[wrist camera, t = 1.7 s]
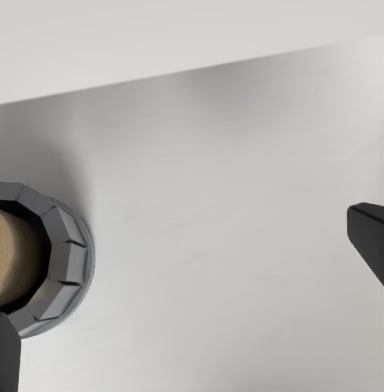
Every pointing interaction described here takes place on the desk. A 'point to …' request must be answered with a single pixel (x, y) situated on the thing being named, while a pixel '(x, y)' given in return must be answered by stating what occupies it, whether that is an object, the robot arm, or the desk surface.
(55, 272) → the sleeve
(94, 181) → the desk surface
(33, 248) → the canister
